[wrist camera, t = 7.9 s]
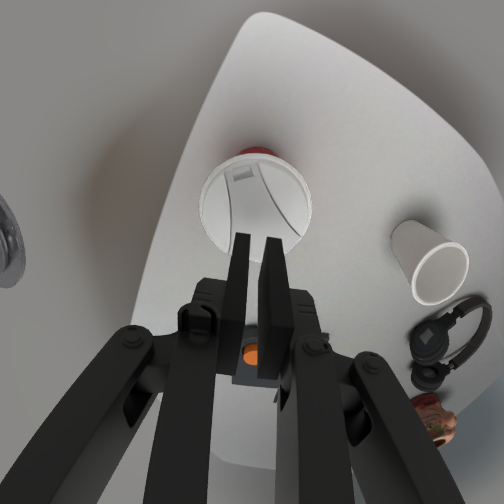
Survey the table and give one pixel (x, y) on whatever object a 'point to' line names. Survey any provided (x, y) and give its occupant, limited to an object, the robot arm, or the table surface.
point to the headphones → (444, 345)
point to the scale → (248, 372)
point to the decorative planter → (435, 418)
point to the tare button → (250, 354)
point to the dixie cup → (429, 262)
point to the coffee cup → (255, 202)
